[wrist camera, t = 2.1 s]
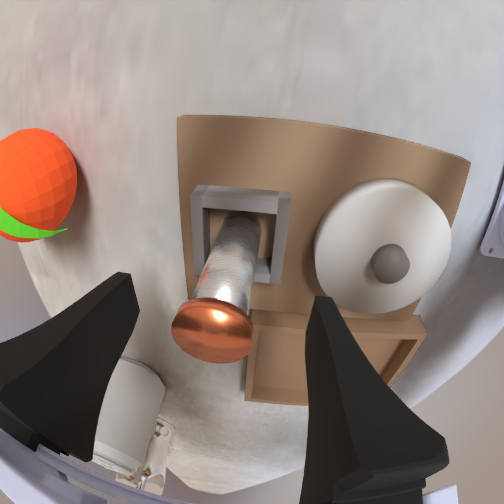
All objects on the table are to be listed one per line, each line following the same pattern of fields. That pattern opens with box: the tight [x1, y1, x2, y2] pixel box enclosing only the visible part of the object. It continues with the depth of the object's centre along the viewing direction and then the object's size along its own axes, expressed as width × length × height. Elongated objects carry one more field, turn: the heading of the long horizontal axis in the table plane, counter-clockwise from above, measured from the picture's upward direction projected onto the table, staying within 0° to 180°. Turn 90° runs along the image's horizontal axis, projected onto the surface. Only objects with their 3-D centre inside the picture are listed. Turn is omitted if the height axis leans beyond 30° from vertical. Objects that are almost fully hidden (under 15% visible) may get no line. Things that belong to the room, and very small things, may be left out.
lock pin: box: [171, 211, 262, 363], centre depth 13 cm, size 3×3×8 cm
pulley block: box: [177, 115, 471, 320], centre depth 15 cm, size 16×12×3 cm
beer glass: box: [112, 418, 176, 504], centre depth 31 cm, size 7×7×15 cm
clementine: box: [0, 128, 77, 242], centre depth 13 cm, size 8×7×7 cm
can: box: [92, 358, 165, 475], centre depth 23 cm, size 8×8×12 cm
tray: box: [244, 309, 428, 406], centre depth 22 cm, size 13×11×2 cm
